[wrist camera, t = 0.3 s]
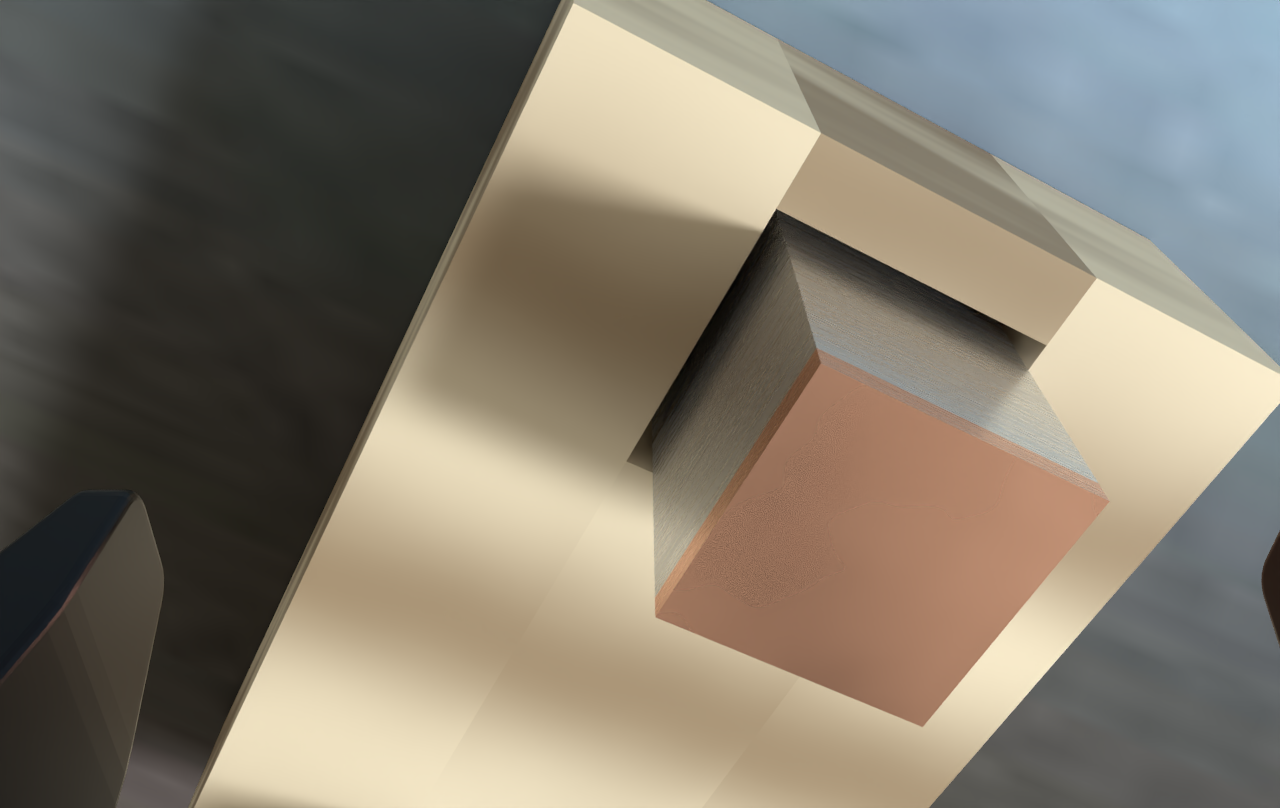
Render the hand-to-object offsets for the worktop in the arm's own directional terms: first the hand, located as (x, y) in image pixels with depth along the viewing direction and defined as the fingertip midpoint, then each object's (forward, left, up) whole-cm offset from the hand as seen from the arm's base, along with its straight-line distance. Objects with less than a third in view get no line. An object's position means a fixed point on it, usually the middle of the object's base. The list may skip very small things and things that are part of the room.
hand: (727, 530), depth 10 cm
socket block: (-8, -4, -14) cm, 17 cm away
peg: (-2, -4, -10) cm, 11 cm away
